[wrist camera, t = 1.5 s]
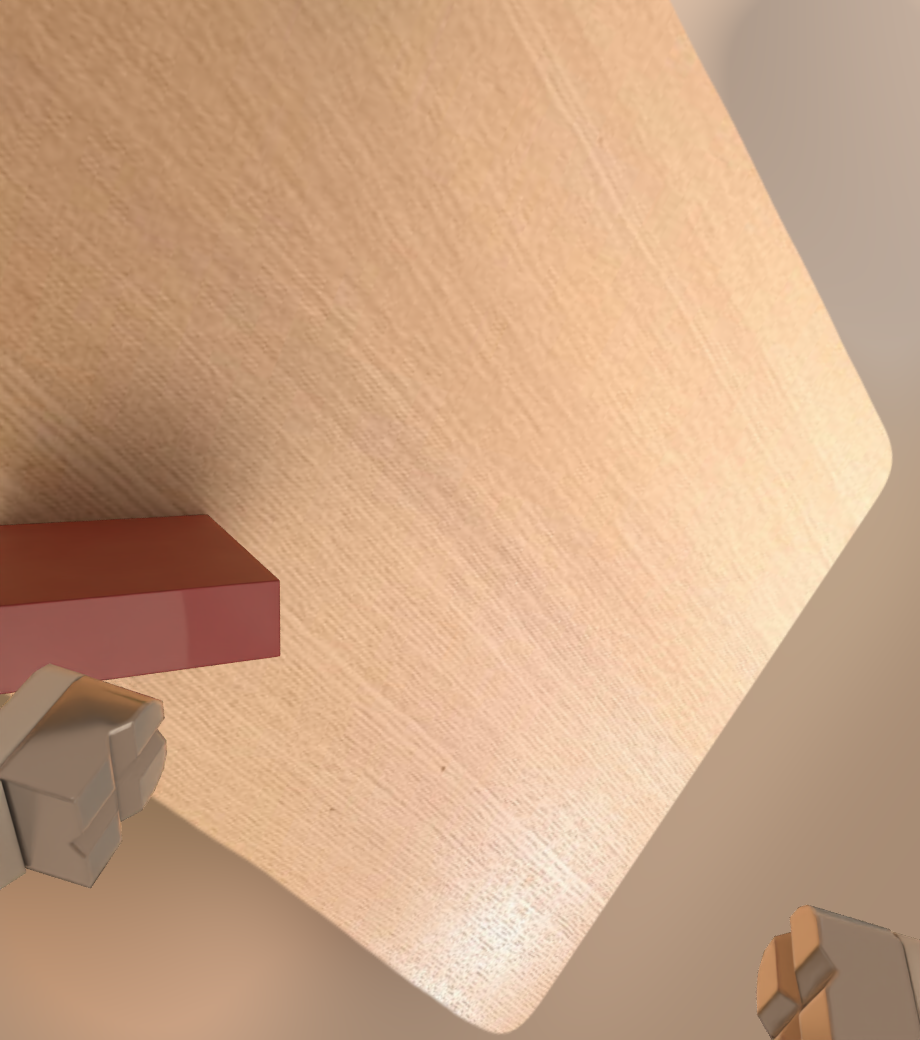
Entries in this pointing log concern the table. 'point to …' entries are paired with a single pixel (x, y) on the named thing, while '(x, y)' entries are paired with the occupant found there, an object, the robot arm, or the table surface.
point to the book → (131, 598)
